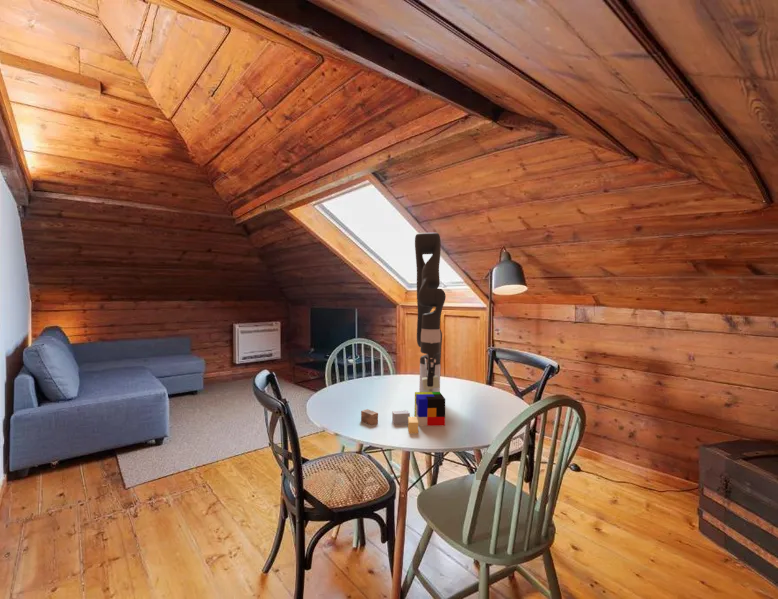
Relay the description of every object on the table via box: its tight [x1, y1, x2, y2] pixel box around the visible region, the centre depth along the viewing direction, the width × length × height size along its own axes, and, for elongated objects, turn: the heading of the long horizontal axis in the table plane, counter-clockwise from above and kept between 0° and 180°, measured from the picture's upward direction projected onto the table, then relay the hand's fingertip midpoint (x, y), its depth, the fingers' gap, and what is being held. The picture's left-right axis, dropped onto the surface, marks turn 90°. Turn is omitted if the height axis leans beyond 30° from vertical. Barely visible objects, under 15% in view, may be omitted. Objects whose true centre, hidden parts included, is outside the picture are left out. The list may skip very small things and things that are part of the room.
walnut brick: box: [360, 408, 379, 426], centre depth 150 cm, size 6×3×4 cm, turn 45°
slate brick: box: [391, 410, 411, 425], centre depth 150 cm, size 6×3×4 cm, turn 102°
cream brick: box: [422, 375, 441, 390], centre depth 152 cm, size 6×3×4 cm, turn 90°
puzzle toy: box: [413, 391, 446, 427], centre depth 152 cm, size 10×10×10 cm
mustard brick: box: [407, 416, 419, 434], centre depth 142 cm, size 6×3×4 cm, turn 1°
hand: (429, 384), depth 152 cm, fingers closed on cream brick, 3 cm apart
